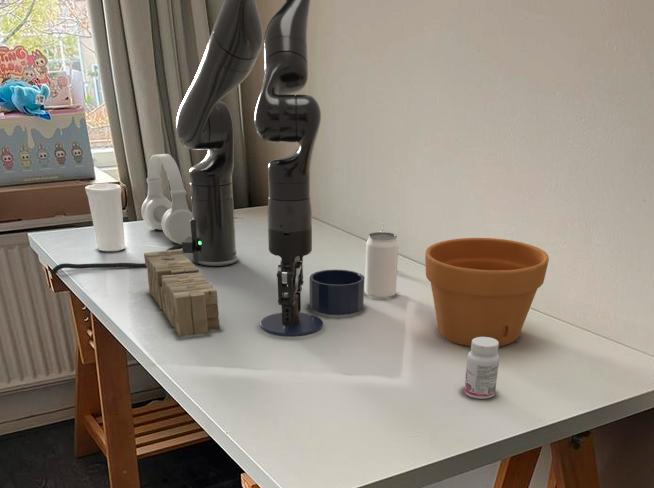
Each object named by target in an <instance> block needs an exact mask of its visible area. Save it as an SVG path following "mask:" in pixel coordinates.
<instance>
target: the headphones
mask: <svg viewBox="0 0 654 488" xmlns="http://www.w3.org/2000/svg"><path fill="white" fill-rule="evenodd" d="M162 166H163V168H164V171H165V173H166V177H167V180H168V184H169V188H170V189H169V190H170V192H169V194H170V197H171V200H169V199H168V198H167V197H166V196H165V195H164V190H163V186H162V181H163V180H162V177H161V176H162V175H161V174H162V173H161V172H162ZM147 167H148V168H147V178H146V183H147V195H146V198H145V199H144V201H143V202H142V205H141V208H140V209H141V210H140V213H141V217H142V219H143V221H144V223H145V224H146V225H147V226H148V227H150V228H152V229H155V230H157V231H158V230H159V231H162V232H163V233H164V235H165V236H166V237H167V238H168V239H169V240H170V241H171V242H173V243H175V244H177V245H180V244H182V242H183V241H184V240H185V239H186V238H187V237H191V225H190V220H191V219H193V216H192V211H191V210H190V208H189V205H188V202H187V196H186V195H187V190H186V189H185V186H184V182H183V178H182V175H181V172H180V169H179V166H178V163H177V161H175V159H174V157H173V156H172V155H171V154H169V153H160V154H159V153H158V154H153V155H151V157H150V159H149V162H148V166H147Z"/></svg>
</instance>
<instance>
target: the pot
mask: <svg viewBox="0 0 654 488" xmlns="http://www.w3.org/2000/svg"><path fill="white" fill-rule="evenodd" d="M308 279H309V284H308V285H309V308H310V309H311V310H312V311H314V312H316V313H318V314H323V315H328V316H347V315H352V314H353V315H354V314H356V313H359V312H361V311H362V310H364V305H365V302H364V301H365V275H363V274H362V273H359V272H357V271H354V270H348V269H323V270H319V271H315V272H313V273H311V274H310V276H309V278H308Z"/></svg>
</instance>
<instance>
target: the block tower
mask: <svg viewBox="0 0 654 488" xmlns="http://www.w3.org/2000/svg"><path fill="white" fill-rule="evenodd" d="M166 250H167V249H166ZM166 250H159V251H148V252H143V257H144V263H145V265H146V266H147V267H146V271H147V272H146V273H147V281H148V282H147V283H148V291H149V293H150V295H151V296H152V298H153V300H154V301H155V302H156V303H157V305H158V306H159V309H160V310H163V314H164V315H165V317H166V318H167V320H168V321H169V323H170V325H171V327H173V328H174V330H175V331H176V332H177V335H178V336H179V337H186V336H193V335H203V334H208V333H209V331H210V330H218V329H220V319H219V316H220V315H219V305H218V303H219V301H218V291H217V289H216V288H215V287H214V286H213V284H212V283H211V282H210V281H209V280H208V279H207V278H206V277H205V276H204V275H203V274H202V272H200V270H199V268H198V267H196V266H195V263H194V262H193V261H192V260H190V259H189V258H188V256H186V254H185V253H183V249H176V250H167V251H166Z"/></svg>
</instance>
